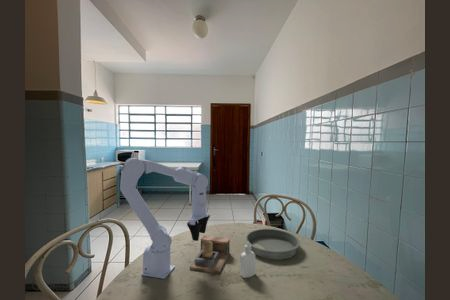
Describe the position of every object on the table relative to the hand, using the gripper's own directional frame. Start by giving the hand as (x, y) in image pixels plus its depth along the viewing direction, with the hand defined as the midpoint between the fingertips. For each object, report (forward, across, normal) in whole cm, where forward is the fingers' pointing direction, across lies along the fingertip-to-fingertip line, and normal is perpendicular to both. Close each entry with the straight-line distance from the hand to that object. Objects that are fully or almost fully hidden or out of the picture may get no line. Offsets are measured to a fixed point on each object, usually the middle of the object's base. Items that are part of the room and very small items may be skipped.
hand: (199, 236), depth 86 cm
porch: (+10, +2, -4) cm, 11 cm away
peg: (+9, 0, -4) cm, 10 cm away
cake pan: (+11, +20, -28) cm, 36 cm away
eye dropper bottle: (+11, -4, -20) cm, 23 cm away
